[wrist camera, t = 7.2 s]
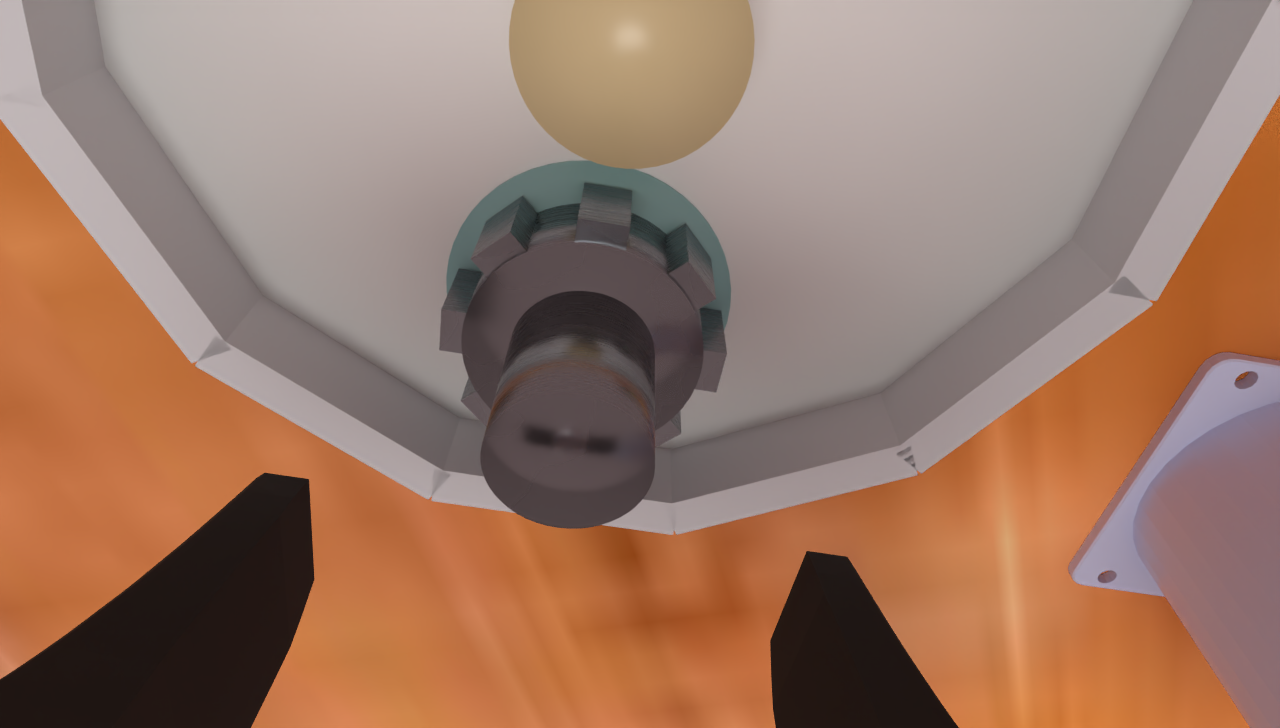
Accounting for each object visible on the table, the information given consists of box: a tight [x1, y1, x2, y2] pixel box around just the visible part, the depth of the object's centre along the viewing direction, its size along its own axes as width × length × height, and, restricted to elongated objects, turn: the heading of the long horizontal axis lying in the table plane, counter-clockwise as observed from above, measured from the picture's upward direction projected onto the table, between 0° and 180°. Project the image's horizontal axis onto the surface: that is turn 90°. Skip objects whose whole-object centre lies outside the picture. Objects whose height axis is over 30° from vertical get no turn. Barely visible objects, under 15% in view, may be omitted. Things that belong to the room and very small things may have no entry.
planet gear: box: [439, 183, 727, 528], centre depth 17 cm, size 6×6×6 cm
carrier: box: [0, 0, 1280, 535], centre depth 15 cm, size 23×23×3 cm
